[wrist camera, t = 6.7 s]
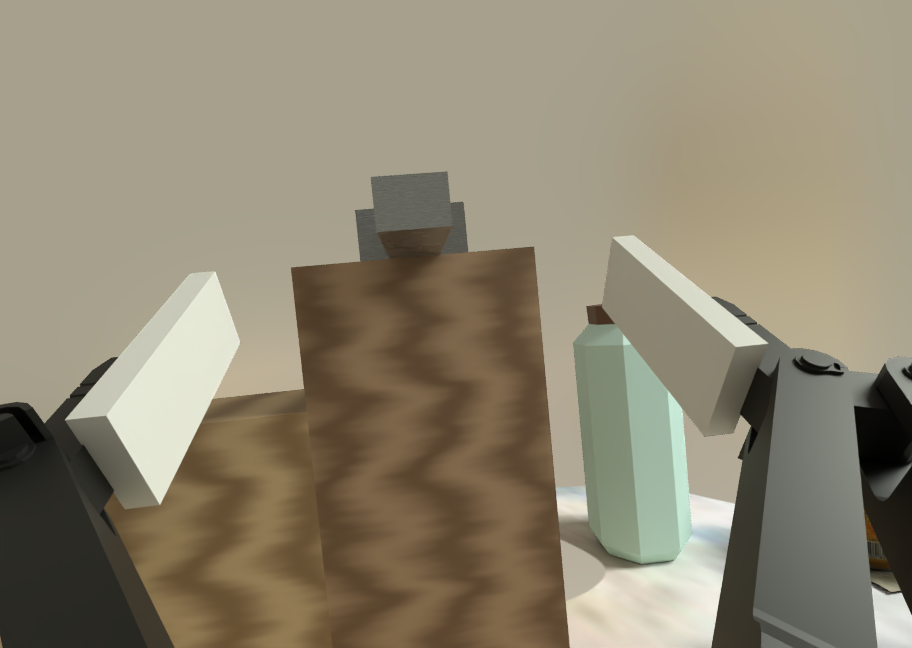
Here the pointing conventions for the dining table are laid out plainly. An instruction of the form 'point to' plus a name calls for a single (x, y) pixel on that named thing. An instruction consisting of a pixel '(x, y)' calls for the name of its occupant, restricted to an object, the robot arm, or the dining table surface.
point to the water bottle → (630, 448)
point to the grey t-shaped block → (411, 218)
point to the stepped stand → (374, 475)
